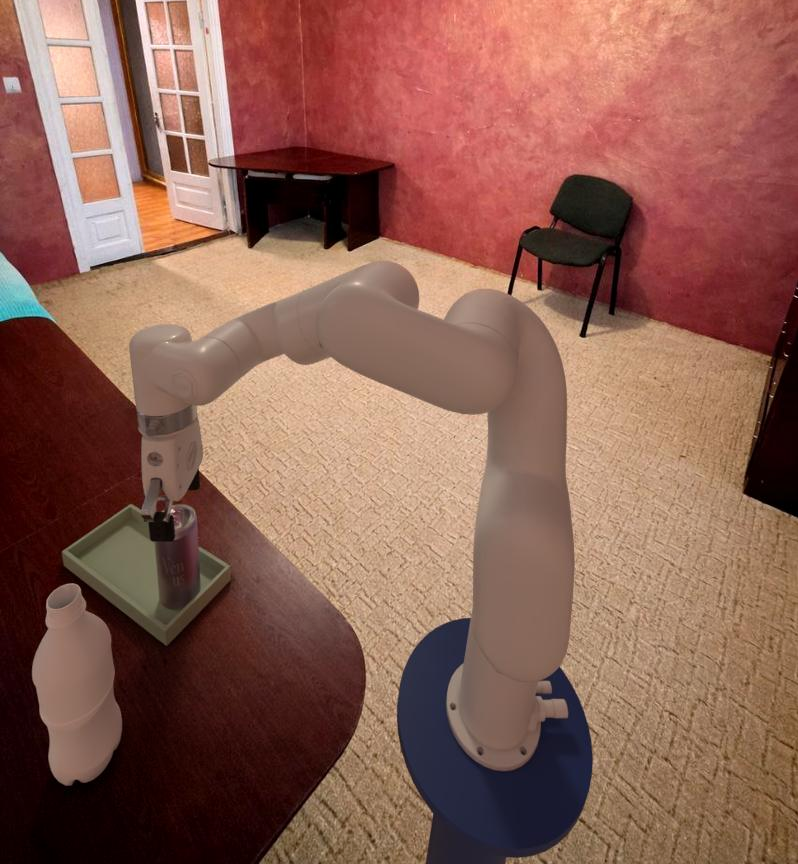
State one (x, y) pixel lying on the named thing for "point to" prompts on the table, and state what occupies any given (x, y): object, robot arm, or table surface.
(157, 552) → the beverage can
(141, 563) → the tray
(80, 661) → the water bottle
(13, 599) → the table surface
